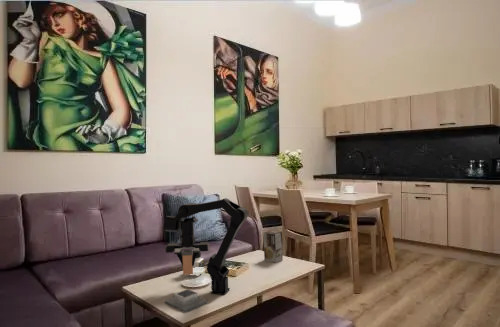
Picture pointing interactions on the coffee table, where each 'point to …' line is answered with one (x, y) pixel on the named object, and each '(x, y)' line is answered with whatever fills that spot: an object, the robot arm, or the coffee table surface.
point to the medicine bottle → (198, 261)
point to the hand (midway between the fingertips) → (188, 266)
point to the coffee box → (273, 246)
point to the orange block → (187, 262)
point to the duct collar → (186, 300)
